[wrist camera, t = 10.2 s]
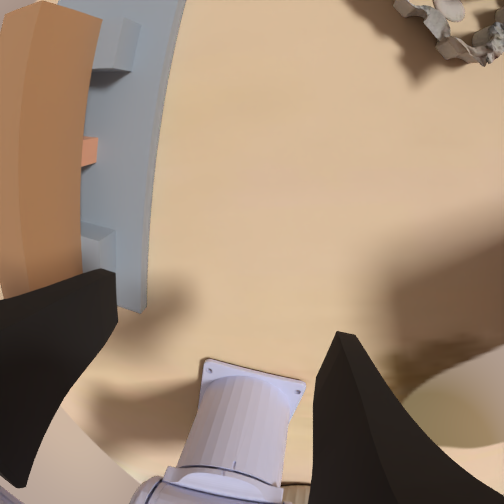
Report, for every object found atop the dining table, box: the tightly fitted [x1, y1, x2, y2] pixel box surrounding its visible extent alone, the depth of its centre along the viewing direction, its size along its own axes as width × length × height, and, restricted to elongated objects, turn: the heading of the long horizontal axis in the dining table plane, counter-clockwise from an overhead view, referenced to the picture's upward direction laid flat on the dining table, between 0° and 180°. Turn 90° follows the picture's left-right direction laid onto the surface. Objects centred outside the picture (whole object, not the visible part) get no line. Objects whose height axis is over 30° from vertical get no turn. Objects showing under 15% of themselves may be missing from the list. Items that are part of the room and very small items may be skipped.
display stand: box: [57, 0, 186, 314], centre depth 17 cm, size 22×10×3 cm, turn 169°
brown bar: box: [0, 1, 103, 299], centre depth 13 cm, size 16×3×5 cm, turn 169°
